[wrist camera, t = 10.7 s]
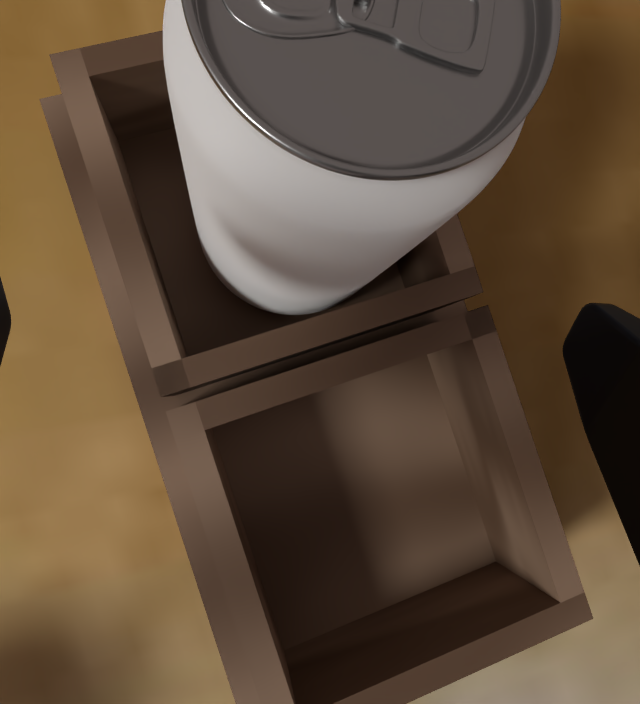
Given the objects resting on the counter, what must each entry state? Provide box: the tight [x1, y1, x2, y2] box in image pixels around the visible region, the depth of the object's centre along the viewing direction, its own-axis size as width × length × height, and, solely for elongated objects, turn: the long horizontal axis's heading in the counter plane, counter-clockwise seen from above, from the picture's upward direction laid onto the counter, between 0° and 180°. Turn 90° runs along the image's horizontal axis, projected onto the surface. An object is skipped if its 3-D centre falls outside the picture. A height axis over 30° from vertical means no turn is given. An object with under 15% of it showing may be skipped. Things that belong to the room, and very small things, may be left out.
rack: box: [40, 31, 593, 704], centre depth 18 cm, size 22×12×5 cm, turn 18°
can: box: [163, 0, 561, 315], centre depth 14 cm, size 6×6×12 cm
